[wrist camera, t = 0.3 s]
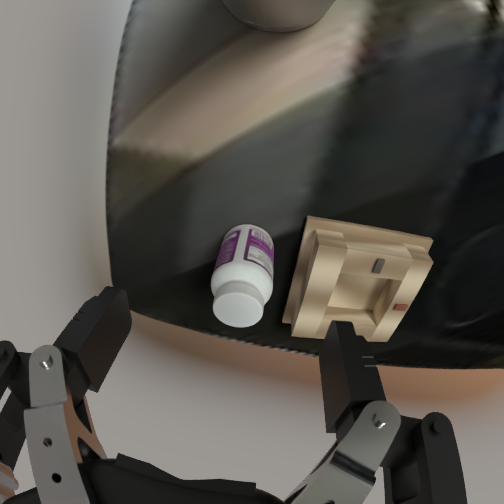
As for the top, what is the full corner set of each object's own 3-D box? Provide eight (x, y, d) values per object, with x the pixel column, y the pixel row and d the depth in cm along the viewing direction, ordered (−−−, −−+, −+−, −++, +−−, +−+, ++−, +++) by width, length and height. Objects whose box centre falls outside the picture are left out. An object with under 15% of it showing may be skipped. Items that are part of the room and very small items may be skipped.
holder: (307, 215, 27) (311, 235, 24) (430, 238, 26) (445, 257, 23) (282, 319, 35) (281, 342, 32) (384, 327, 35) (390, 348, 32)
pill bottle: (230, 267, 31) (214, 334, 23) (217, 226, 28) (194, 289, 20) (277, 262, 30) (275, 331, 22) (269, 219, 27) (265, 283, 19)
